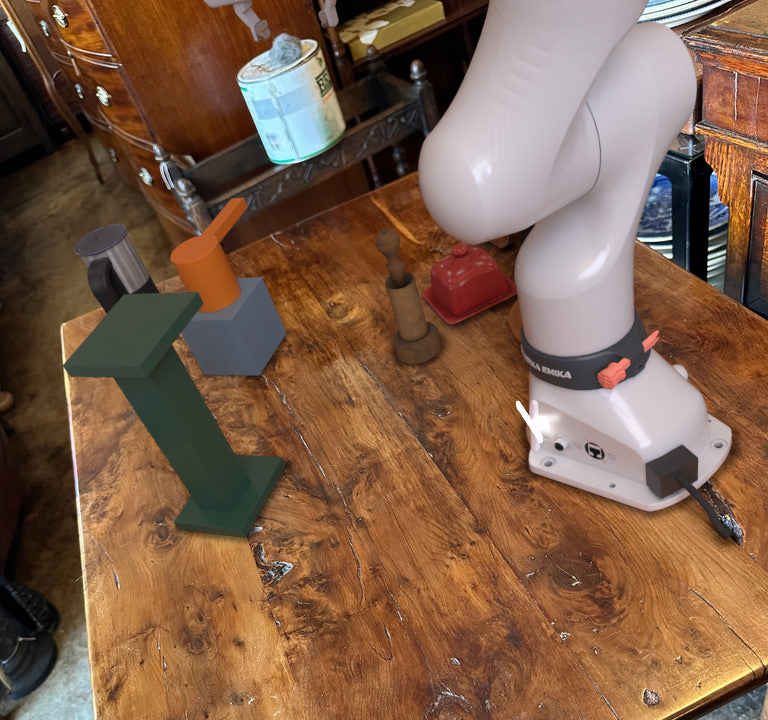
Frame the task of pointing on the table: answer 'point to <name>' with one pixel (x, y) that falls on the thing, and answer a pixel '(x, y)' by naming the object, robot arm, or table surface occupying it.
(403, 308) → the mortar and pestle
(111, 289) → the milk frother
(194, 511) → the shelf stand
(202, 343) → the slate grey cube
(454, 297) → the butter dish
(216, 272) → the measuring cup
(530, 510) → the table surface
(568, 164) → the robot arm
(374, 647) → the table surface
